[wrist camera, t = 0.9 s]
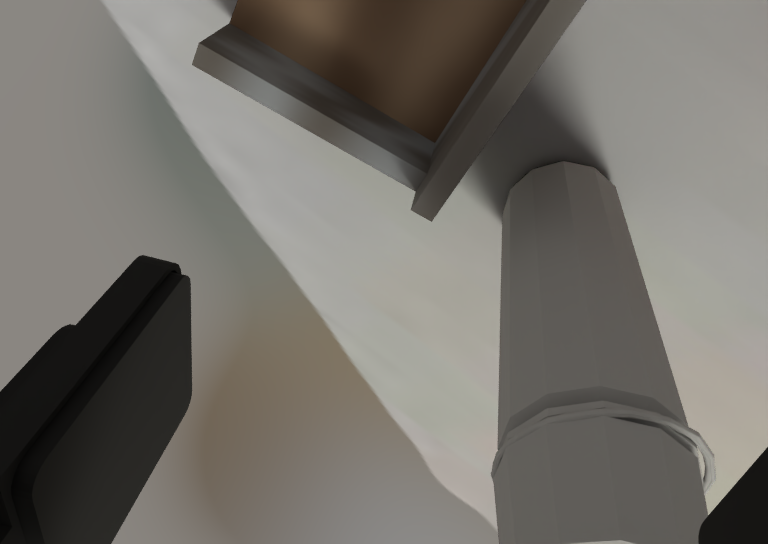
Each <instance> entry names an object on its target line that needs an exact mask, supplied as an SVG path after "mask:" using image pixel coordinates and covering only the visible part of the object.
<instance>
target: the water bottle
mask: <svg viewBox="0 0 768 544" xmlns="http://www.w3.org/2000/svg"><path fill="white" fill-rule="evenodd" d="M697 446H698V448H699V449H700V451H701V453H702V455H703V458H704V462H705V475H704V478H703V477H702V472H701V466H700V461H699V455H698V450H697ZM491 476H492V479H493V482H494V492H495V503H496V514H497V526H498V537H499V544H699V543H698V535H699V530H700V527H701V524H702V523H703V521H704V520H705V519H706V518H707V517H708V512H707V506H706V501H705V495H706V494H707V492H708V491H709V489H710V488H711V486H712V485H713V483H714V482H715V480H716V473H715V461H714V454H713V453H712V451H711V450H710V448H709V447H708V445H707V444H706V443H705V441H704V440H703V438H702V437H701V435H700V434H699V433H698V432H697V431H695V430H693V429H691V428H689V427H688V423H687V420H686V417H685V414H684V410H683V407H682V404H681V400H680V397H679V394H678V391H677V387H676V384H675V381H674V377H673V374H672V371H671V368H670V364H669V361H668V358H667V354H666V351H665V348H664V345H663V341H662V338H661V335H660V331H659V328H658V325H657V322H656V318H655V315H654V312H653V308H652V305H651V302H650V299H649V295H648V292H647V289H646V285H645V282H644V279H643V276H642V272H641V269H640V266H639V262H638V259H637V256H636V253H635V249H634V246H633V243H632V239H631V236H630V233H629V230H628V226H627V223H626V220H625V217H624V213H623V210H622V207H621V203H620V200H619V197H618V194H617V190H616V187H615V186H614V185H613V184H612V183H611V182H610V181H609V180H608V179H606V178H605V177H604V176H603V175H602V174H601V173H600V172H599V171H598V170H597V169H595V168H594V167H590V166H585V165H580V164H575V163H571V162H566V161H561V162H558V163H554V164H550V165H547V166H543V167H539V168H536V169H532V170H531V171H530V172H529V173H528V174H527V175H525V176H524V177H523V178H522V179H521V180H520V181H519V182H518V183H517V184H516V185H514V186H513V187H512V188H511V189H510V191H509V195H508V198H507V201H506V205H505V208H504V211H503V215H502V261H501V309H500V358H499V406H498V451H497V453H496V456H495V459H494V461H493V467H492V472H491Z"/></svg>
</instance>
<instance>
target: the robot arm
mask: <svg viewBox="0 0 768 544" xmlns="http://www.w3.org/2000/svg"><path fill="white" fill-rule="evenodd" d="M190 285H191V284H190V278H189V277H188V276H186V275H182V274H181V269H180V267H179V265H178V264H176V263H172V262H168V261H164V260H160V259H156V258H152V257H148V256H144V255H142V256H139V257H138V258H136V259H135V260H134V261H133V262H132V264H131V265H130V266H129V267H128V268H127V269H126V270H125V271H124V272H123V273H122V275H121V276H120V277H119V278H118V279H117V280H116V281H115V282H114V283H113V285H112V286H111V287H110V288H109V289H108V290H107V291H106V292H105V293H104V294H103V296H102V297H101V298H100V299H99V300H98V301H97V302H96V303H95V304H94V306H93V307H92V308H91V309H90V310H89V311H88V312H87V313H86V314H85V316H84V317H83V318H82V319H81V320H80V321H79V322H78V323H77V324H76V325H71V324H69V325H67V326H64V327H62V328H61V329H59V330H58V331H57V332H56V333H55V334H54V335H53V336H52V337H51V338H50V339H49V340H48V341H47V342H46V343H45V344H44V345H43V346H42V347H41V349H40V350H39V351H38V352H37V353H36V354H35V355H34V356H33V357H32V358H31V359H30V360H29V361H28V363H27V364H26V365H25V366H24V367H23V368H22V369H21V370H20V371H19V372H18V373H17V374H16V375H15V376H14V378H13V379H12V380H11V381H10V382H9V383H8V384H7V385H6V386H5V387H4V388H3V389H2V390H1V392H0V544H111V543H112V541H113V539H114V538H115V536H116V534H117V532H118V531H119V529H120V527H121V525H122V524H123V522H124V520H125V518H126V517H127V515H128V513H129V512H130V510H131V508H132V506H133V505H134V503H135V501H136V499H137V498H138V496H139V494H140V492H141V491H142V489H143V487H144V485H145V483H146V482H147V480H148V478H149V476H150V475H151V473H152V471H153V469H154V468H155V466H156V464H157V462H158V461H159V459H160V457H161V455H162V454H163V452H164V450H165V448H166V446H167V445H168V443H169V442H170V440H171V438H172V436H173V435H174V433H175V431H176V429H177V428H178V426H179V424H180V422H181V421H182V419H183V417H184V415H185V413H186V411H187V409H188V406H189V404H190V400H191V395H192V358H191V357H192V355H191V287H190ZM698 543H699V544H768V447H767V448H766V450H765V451H764V452H763V453H762V454H761V455H760V457H759V458H758V459H757V460H756V461H755V462H754V463H753V465H752V466H751V467H750V468H749V469H748V470H747V472H746V473H745V474H744V475H743V476H742V477H741V479H740V480H739V481H738V482H737V483H736V484H735V485H734V487H733V488H732V489H731V490H730V491H729V492H728V494H727V495H726V496H725V497H724V498H723V499H722V500H721V502H720V503H719V504H718V505H717V506H716V507H715V509H714V510H713V511H712V512H711V513H710V514H709V515H708V517H707V518H706V519H705V520H704V521H703V523H702V524H701V527H700V530H699V535H698Z"/></svg>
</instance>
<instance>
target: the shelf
mask: <svg viewBox="0 0 768 544" xmlns="http://www.w3.org/2000/svg"><path fill="white" fill-rule="evenodd" d="M585 2H586V0H238V1H237V4H236V7H235V9H234V12H233V15H232V18H231V21H230V23H229V24H228V25H226V26H225V27H223V28H221V29H220V30H218V31H217V32H215V33H214V34H212V35H211V36H209V37H208V38H206V39H204V40H203V41H201V42H200V43H199V45H198V48H197V51H196V54H195V57H194V60H193V63H192V65H193V66H195V67H197V68H199V69H200V70H202V71H204V72H206V73H207V74H209V75H211V76H213V77H215V78H216V79H218V80H220V81H222V82H223V83H225V84H227V85H229V86H230V87H232V88H234V89H236V90H237V91H239V92H241V93H243V94H245V95H246V96H248V97H250V98H252V99H253V100H255V101H257V102H259V103H260V104H262V105H264V106H266V107H267V108H269V109H271V110H273V111H275V112H276V113H278V114H280V115H282V116H283V117H285V118H287V119H289V120H290V121H292V122H294V123H296V124H297V125H299V126H301V127H303V128H305V129H306V130H308V131H310V132H312V133H313V134H315V135H317V136H319V137H320V138H322V139H324V140H326V141H327V142H329V143H331V144H333V145H335V146H336V147H338V148H340V149H342V150H343V151H345V152H347V153H349V154H350V155H352V156H354V157H356V158H357V159H359V160H361V161H363V162H365V163H366V164H368V165H370V166H372V167H373V168H375V169H377V170H379V171H380V172H382V173H384V174H386V175H387V176H389V177H391V178H393V179H395V180H396V181H398V182H400V183H402V184H403V185H405V186H407V187H409V188H410V189H412V190H414V191H416V193H415V197H414V200H413V204H412V208H411V210H412V211H413V212H415V213H417V214H419V215H421V216H422V217H424V218H426V219H428V220H430V221H431V222H432V220H433V219H434V217H435V216H436V215H437V213H438V212H439V210H440V209H441V207H442V206H443V205H444V203H445V202H446V200H447V199H448V197H449V196H450V195H451V193H452V192H453V190H454V189H455V187H456V186H457V185H458V183H459V182H460V180H461V179H462V177H463V176H464V175H465V173H466V172H467V170H468V169H469V167H470V166H471V165H472V163H473V162H474V160H475V159H476V157H477V156H478V155H479V153H480V152H481V150H482V149H483V147H484V146H485V145H486V143H487V142H488V140H489V139H490V137H491V136H492V135H493V133H494V132H495V130H496V129H497V127H498V126H499V125H500V123H501V122H502V120H503V119H504V117H505V116H506V115H507V113H508V112H509V110H510V109H511V107H512V106H513V105H514V103H515V102H516V100H517V99H518V97H519V96H520V95H521V93H522V92H523V90H524V89H525V87H526V86H527V85H528V83H529V82H530V80H531V79H532V77H533V76H534V75H535V73H536V72H537V70H538V69H539V67H540V66H541V65H542V63H543V62H544V60H545V59H546V57H547V56H548V55H549V53H550V52H551V50H552V49H553V47H554V46H555V45H556V43H557V42H558V40H559V39H560V37H561V36H562V35H563V33H564V32H565V30H566V29H567V27H568V26H569V25H570V23H571V22H572V20H573V19H574V17H575V16H576V15H577V13H578V12H579V10H580V9H581V7H582V6H583V5H584V3H585Z"/></svg>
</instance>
